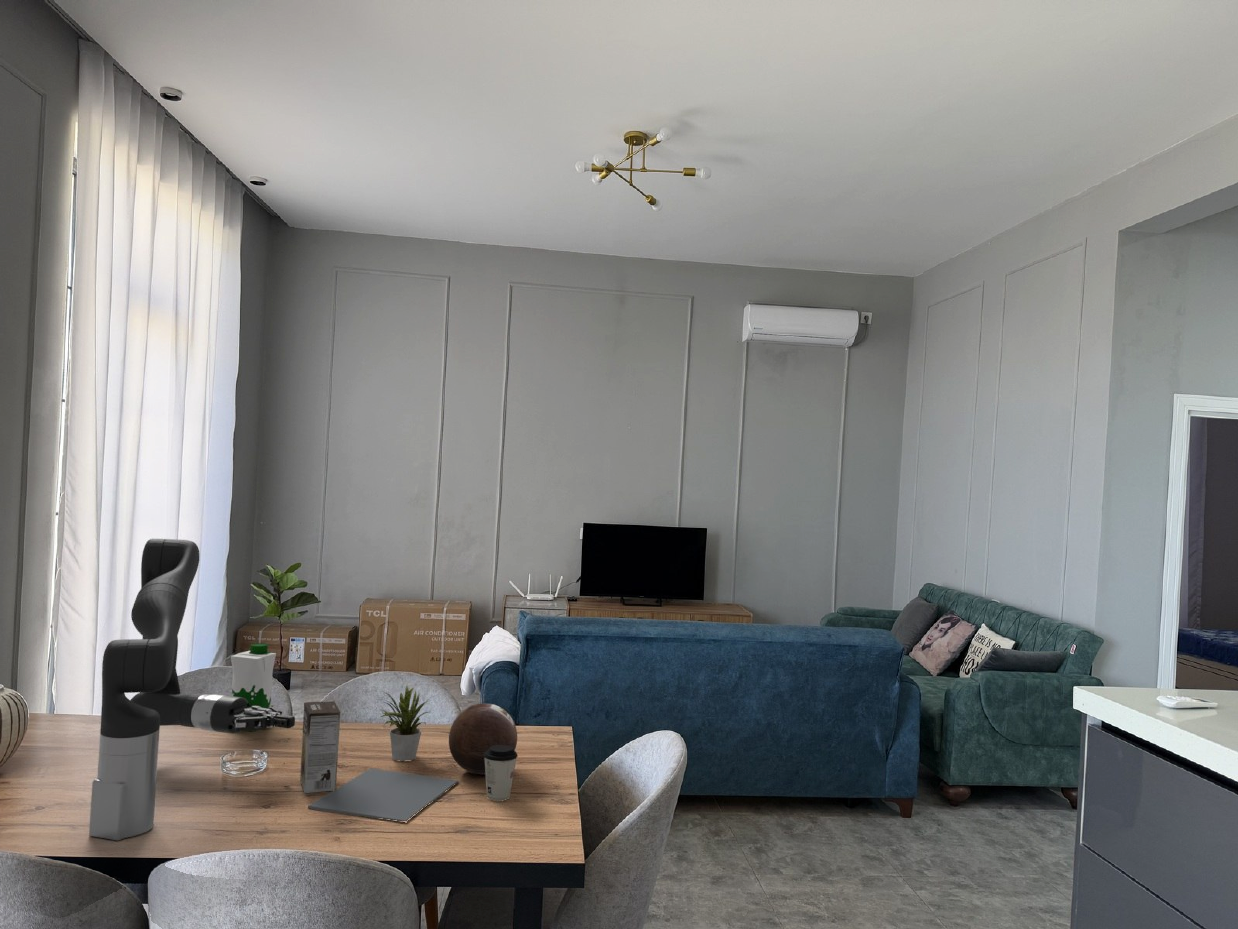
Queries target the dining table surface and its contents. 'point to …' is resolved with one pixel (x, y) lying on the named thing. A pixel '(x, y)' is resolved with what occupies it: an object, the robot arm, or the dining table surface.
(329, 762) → the coffee box
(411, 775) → the rubber mat
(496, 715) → the wooden sphere
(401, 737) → the house plant
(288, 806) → the dining table surface
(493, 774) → the coffee cup
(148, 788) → the robot arm
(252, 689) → the milk carton
